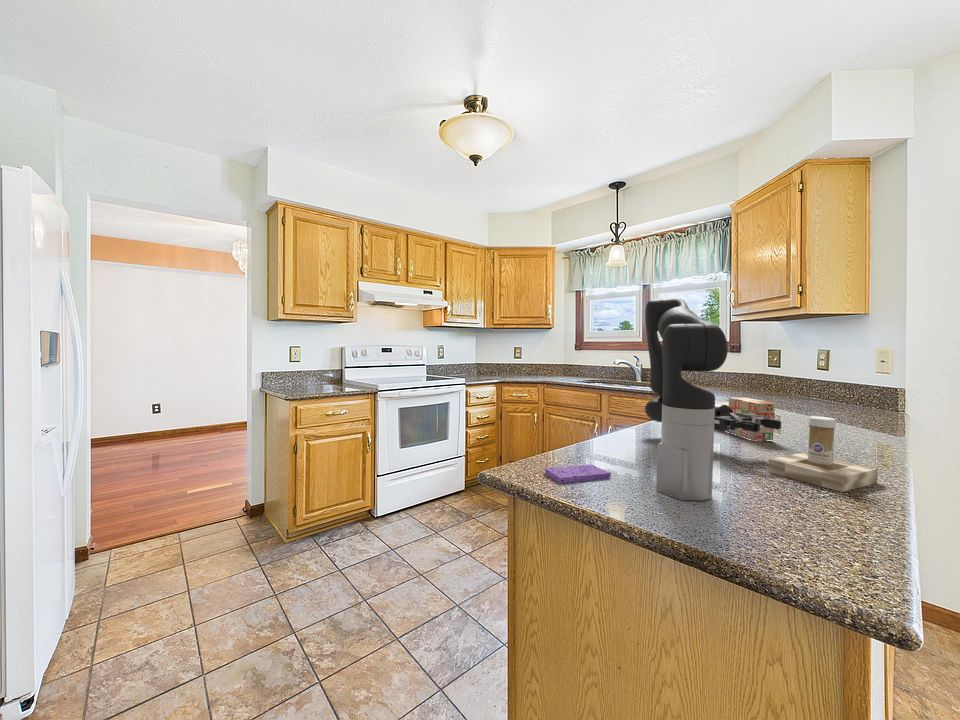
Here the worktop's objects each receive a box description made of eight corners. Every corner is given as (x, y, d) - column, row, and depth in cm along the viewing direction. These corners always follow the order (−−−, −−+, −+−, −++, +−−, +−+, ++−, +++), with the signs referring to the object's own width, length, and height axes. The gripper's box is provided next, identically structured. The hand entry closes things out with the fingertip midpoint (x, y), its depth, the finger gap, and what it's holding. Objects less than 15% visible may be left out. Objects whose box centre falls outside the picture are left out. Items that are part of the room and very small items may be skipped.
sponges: (544, 475, 91) (544, 467, 91) (592, 471, 95) (592, 463, 95) (560, 486, 84) (560, 477, 84) (611, 480, 88) (611, 472, 88)
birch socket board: (841, 491, 81) (842, 477, 81) (768, 471, 94) (768, 458, 94) (877, 482, 87) (877, 469, 87) (803, 465, 100) (803, 453, 100)
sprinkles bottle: (806, 477, 90) (808, 417, 90) (806, 472, 94) (809, 414, 93) (833, 481, 87) (836, 420, 87) (832, 476, 91) (835, 417, 90)
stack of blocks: (709, 428, 145) (710, 394, 144) (726, 428, 145) (727, 394, 145) (754, 442, 124) (756, 402, 123) (773, 442, 124) (775, 402, 124)
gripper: (692, 403, 112) (752, 413, 97) (726, 401, 118) (787, 409, 103) (691, 430, 112) (751, 444, 97) (725, 427, 118) (786, 439, 103)
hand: (769, 426), depth 100 cm, fingers open, 8 cm apart
